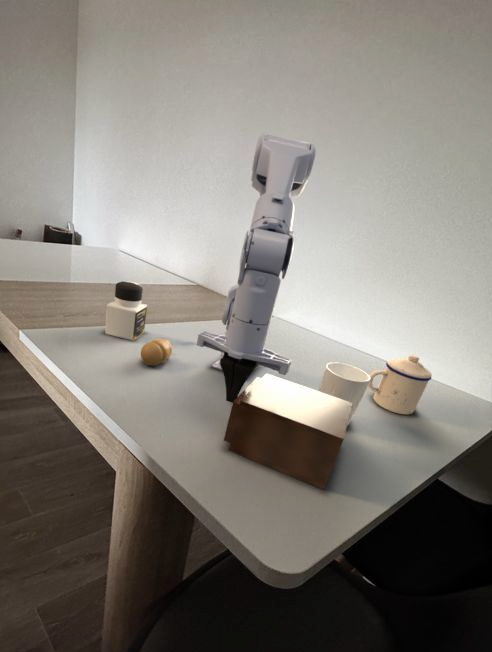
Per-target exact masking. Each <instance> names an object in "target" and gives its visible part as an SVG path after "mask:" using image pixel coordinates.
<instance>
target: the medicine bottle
mask: <svg viewBox="0 0 492 652" xmlns="http://www.w3.org/2000/svg"><path fill="white" fill-rule="evenodd" d="M114 288H115V290H114V300H113V301H111V302H110V303H107V305H106V313H105V317H106V318H105V329H104V330H105V331H104V333H105V334H106V335H109V336H113V337H116V338H120V339H125V340H129V341H135V340H136V339H137V338H139V337H140V336H141V335H142V334H144V333H145V328H146V321H147V320H146V319H147V310H148V305H147V304H146V303H142V299H143V290H144V289H143V286H142V285H141V284H139V283H138V282H137V283H136V282H133V281H127V280H126V281H125V280H124V281H123V280H122V281H119V282H117V283H116V284H115V287H114Z"/></svg>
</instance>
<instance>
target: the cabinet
mask: <svg viewBox="0 0 492 652" xmlns="http://www.w3.org/2000/svg"><path fill="white" fill-rule="evenodd" d="M260 378H261V379H260V380H259V381H258V383H257V384H256V385H255V386H254V387H253V388H252V389H251V390H250V391H249V392H248V393H247V394H246V395H245V396H244V397H243V399H242V400H241V401H240V405H239V409H238V413H237V417H236V421H235V425H234V429H233V433H232V437H231V441H230V443H229V445H228V449H227V450H228V452H232V453H234V454H237V455H238V456H241V457H243V458H246V459H248V460H251V461H253V462H255V463H258V464H260V465H263V466H264V467H267V468H270V469H272V470H274V471H276V472H280V473H282V474H284V475H286V476H289V477H291V478H293V479H296V480H299V481H301V482H303V483H306V484H307V485H310V486H313V487H315V488H318V489H320V490H322V491H324V490H325V487H326V484H327V482H328V480H329V478H330V475H331V472H332V470H333V468H334V465H335V462H336V460H337V458H338V455H339V453H340V450H341V448H342V445H343V442H344V440H345V436H346V432H347V429H348V426H349V424H348V421H349V417H350V413H351V410H352V406H353V403H351V402H348V401H345V400H342V399H340V398H337V397H334V396H331V395H328V394H325V393H322V392H319V390H316V389H314V388H310V387H307V386H305V385H302V384H299V383H295V382H293V381H290V380H287V379H284V378H281V377H278V376H276V375H273V374H270V373H267V372H266V373H265V374H264V375H263V376H262V377H260ZM347 425H348V426H347Z"/></svg>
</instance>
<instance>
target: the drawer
mask: <svg viewBox="0 0 492 652" xmlns="http://www.w3.org/2000/svg"><path fill="white" fill-rule="evenodd" d="M261 378H262V377H259V376H256V377H255V378H254V380H252V381H251V382H250V384H249V385H248V386H246V388H245V389H244V390H243V391H242V392H241V393H239V395H238V397H237V398H236V399H235V400H234V401H233V403H231V408H230V412H229V416H228V421H227V425H226V429H225V433H224V437H223V441H224V442H227V443H228V444H230V441H231V437H232V433H233V429H234V425H235V421H236V417H237V413H238V409H239V405H240V401H241V400H242V399H243V397H244V396H245V395H246V394H247V393H248V392H249V391H250V390H251V389H252V388H253V387H254V386H255V385H256V384H257V383H258V381H259V380H260V379H261Z"/></svg>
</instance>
